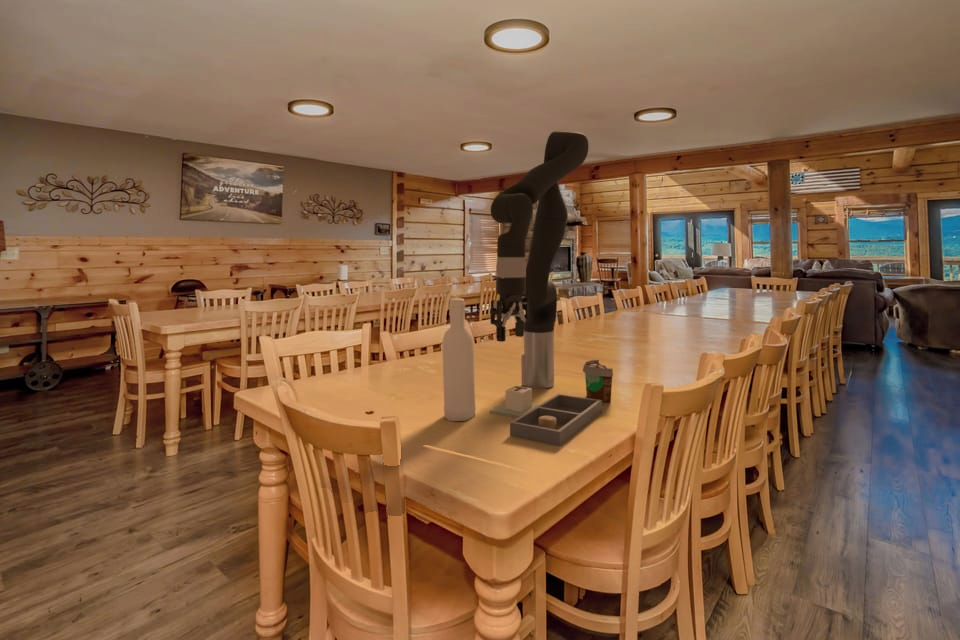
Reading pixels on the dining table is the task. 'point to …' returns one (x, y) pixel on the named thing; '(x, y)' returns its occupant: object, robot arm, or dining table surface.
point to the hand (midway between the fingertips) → (510, 338)
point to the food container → (598, 381)
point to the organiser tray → (568, 416)
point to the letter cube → (519, 398)
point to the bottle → (458, 366)
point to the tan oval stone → (547, 422)
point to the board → (511, 413)
